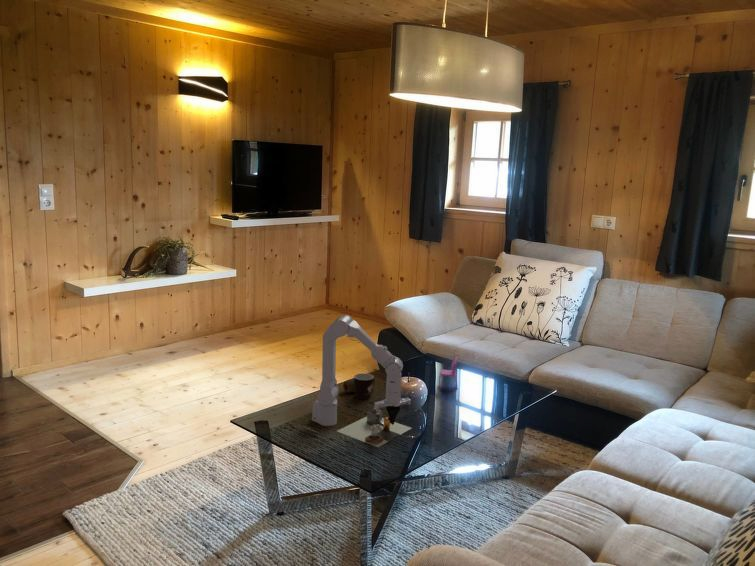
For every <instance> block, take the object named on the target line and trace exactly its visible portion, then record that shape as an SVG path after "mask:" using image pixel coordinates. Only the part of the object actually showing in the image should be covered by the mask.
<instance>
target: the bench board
mask: <svg viewBox="0 0 755 566" xmlns="http://www.w3.org/2000/svg"><path fill="white" fill-rule="evenodd" d="M384 418H385V417H382V422H384ZM371 428H372V426H371V425H368V424H367V416H365V417H363V418H360V419H359V420H356V421H354V422H352V423H350V424H348V425H346V426H344V427H342V428H339V429H337V430H336V432H337V433H340V434H343V435H345V436H347V437H350V438H353V439H355V440H359V441H361V442H363V443H365V444H368V445H371V446H374V447H376V448H380V447H381V446H383V445H385V444H386V443H388V442H389V441H387V440H384V439H383V441H382V442H380V443H379V444H377V445H374V444H371V443H368V442H366V441H365V437H367V436H369V435H371V431H372V430H371ZM412 429H413V428H412V427H410V426H407V425H405V424H401V423H399V422H395V421H394V424H393V425H392V424H391V423H390V430H389V431H392V432H395V433H398V434H400V435H399V436H401V435H403V434H405V433H406V432H408V431H409V430H412ZM382 430H383V427H382V426H381V425H379V427H378V432H380V431H382ZM394 439H395V438H393V439H392V440H394Z"/></svg>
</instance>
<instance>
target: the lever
mask: <svg viewBox="0 0 755 566" xmlns="http://www.w3.org/2000/svg"><path fill="white" fill-rule="evenodd" d="M383 418H384V422H382V421H381V420H380V421H378V424H379V425H381V426H382V427H383V430H385V431H389V430H390V418H389V416H386V417H383Z"/></svg>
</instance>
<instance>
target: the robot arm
mask: <svg viewBox="0 0 755 566" xmlns="http://www.w3.org/2000/svg"><path fill="white" fill-rule="evenodd" d="M344 336H346V337H347V338H356V340H358V341H359V342H360V343H361V344H362V345H364V347H366V348H367V349H368V350H369V351H370V354H371V355H370V356H371V357H372V358H373V359H374V360H375V361H376V362H377V363H378V364H379V365H381V366H382V368H384V369H385V370H384V371H385V373H386V383H385V384H386V386H385V399H382V400H380V401H376V402H374V405H373V406H374V407H375V408H376V409H378V410H380V408H385V409H386V411H387V414H388V417H389V418H390V423H391V424H392V425H393V424H394V422H395V421H396V418H397V416H398V414H399V412H400V411H401V407H400V406H403V405H411V403H412V399H411V398H409V397H402V393H401V392H402V371H403V367H404V364H403V360H401V358H400V357H396V355H393V354H392V353H391V352H390V351H389V350H388V347H387V346H386V345H383V344H377V343H376V342H375V341H374V340H373V338H371V337H370V335H369V334H368V333H367V332H366V331H365V330H364V329H363V328H362V326H360V325H359V323H358V322H357V320H354V319H353V318H352V317H351V316H350V315H348V314H342V315H341V316H339V317H338V318H337V319H335V320H334V321H333V322H332V323H330V324H329V326H328V328H327V329H326V330H325V332H323V335H322V355H321V356H322V362H321V363H322V369H321V370H322V371H321V372H322V373H321V378H322V379H321V383H320V386H319V392H318V393H317V396H316V397H317V399H316V400H315V401H314V402H313V405H312V418H311V419H312V422H315V423H317V424H319V425H320V426H324V427H333V426H335V425H337V424H338V399H337V396H338V395H339V394H340V393H339V392H340V389H339V386H338V380H337V379H336V378H337V377H336V361H337V360H336V356H337V354H336V353H337V340H338V339H339V338H342V337H344ZM374 407H373V408H374Z"/></svg>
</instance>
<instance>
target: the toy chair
mask: <svg viewBox="0 0 755 566" xmlns="http://www.w3.org/2000/svg"><path fill="white" fill-rule="evenodd" d="M457 359H458V356H454V357H453V359H452V362H451V370H450V369H441V370H440V371H439V376H438V377H439V379H438V382H439V384H438V385H439V390H441V389H442V388H441V377H451V378H452V377H453V378H455V385H456V390H457V391H458V390H459V388H457V387H458V381H457V372H456V369H457Z"/></svg>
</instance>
